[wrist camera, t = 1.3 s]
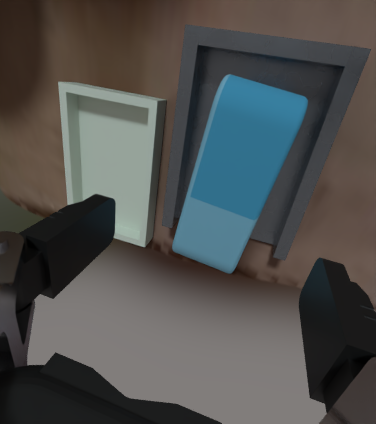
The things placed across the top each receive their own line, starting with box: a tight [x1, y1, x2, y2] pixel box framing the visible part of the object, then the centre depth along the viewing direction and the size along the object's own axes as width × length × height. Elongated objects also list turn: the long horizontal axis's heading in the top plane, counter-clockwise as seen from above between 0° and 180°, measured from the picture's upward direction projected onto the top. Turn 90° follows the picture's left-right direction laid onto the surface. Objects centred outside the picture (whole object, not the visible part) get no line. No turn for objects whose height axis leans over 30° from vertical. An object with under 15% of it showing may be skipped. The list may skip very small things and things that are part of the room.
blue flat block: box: [172, 74, 308, 274], centre depth 20 cm, size 12×4×12 cm, turn 164°
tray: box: [58, 82, 167, 247], centre depth 30 cm, size 11×17×2 cm, turn 171°
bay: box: [162, 25, 371, 260], centre depth 25 cm, size 13×18×3 cm
